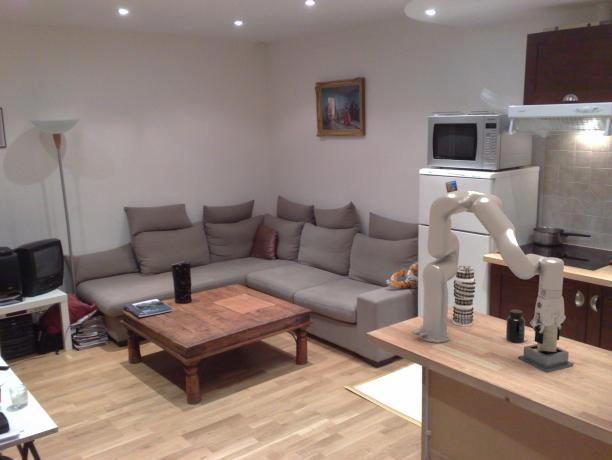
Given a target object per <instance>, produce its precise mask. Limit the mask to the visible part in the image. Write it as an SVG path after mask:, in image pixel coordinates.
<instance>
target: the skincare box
mask: <svg viewBox="0 0 612 460" xmlns="http://www.w3.org/2000/svg"><path fill="white" fill-rule="evenodd" d="M539 323H541V322H540V319H539ZM540 327H541V325H539V328H540ZM557 329H558V319H554V325H553V326H548V327H544V329H543V332H542V333H543V344H540V343H537V342H536V344H537V348H538V350H541V351H550V352H556V347H558V346H557V343H558V340H557Z"/></svg>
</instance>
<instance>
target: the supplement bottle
mask: <svg viewBox="0 0 612 460" xmlns="http://www.w3.org/2000/svg"><path fill="white" fill-rule="evenodd" d="M523 315H524V313H523V310H520V309H511V310H509V316H508V317H507V319H506V328H505V329H506V330H505V331H506V332H505V333H506V334H505V339H506V341H508V342H510V343H513V344H514V343H515V344H520V343H523V342H524V341H525V332H526V319H525V318H524V317H523Z"/></svg>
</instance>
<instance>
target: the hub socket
mask: <svg viewBox="0 0 612 460" xmlns="http://www.w3.org/2000/svg"><path fill="white" fill-rule="evenodd" d="M569 355H570V354H569V351H567V350H565V349H562V348H561V347H558V346H557V347H556V352H550V351H541V350H538V348H537V343H535V344H532V345H531V344H529V345H526V346H523V355H519V356H517V360H519V361H522V362H524V363H525V364H528V365H529V366H532V367H533V368H536V369H538V370H540V371H542V372H543V373H546V374H547V373H550V372H555V371H559V370H563V369H566V368H567V369H568V368H571V367H573V366H574V363H573V362H572V361H569Z"/></svg>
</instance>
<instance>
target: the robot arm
mask: <svg viewBox="0 0 612 460" xmlns="http://www.w3.org/2000/svg"><path fill="white" fill-rule="evenodd" d="M503 206H504V204H503V202H502V200H501V199H500V197H498V196H497V195H494V194H491V193H487V192H486V193H484V192H480V191H479V192H478V191H472V190H467V189H461V190H460V189H459V190H455V191H451V192H450V191H449V192H447V193H443V194H442V195H440V196H438V197H436V198H435V199H434V200H433V201H432V203H431V205H430V208H429V215H428V217H429V219H428V220H429V222H428V232H427V233H428V235H427V244H426V245H427V246H426V247H427V252H428V254H429V256H431V257H432V258H435V259H434V260H433V261H430V262H429V263H428V264H426V265H425V266H424V268H423V269H422V270H423V271H422V284H423V306H422V307H423V309H422V311H423V312H422V325H421V326H420V328H419V329H417V330H413V331H412V335H413V336H418V338H419V339H420V340H422V341H424V342H428V343H434V344H435V343H436V344H439V343H446V342H447V343H448V342H449V341H450V340H451V334H450V333H449V332H448V316H449V315H448V313H449V312H448V311H449V289H448V281H450V280H453V278H455V276H456V273H457V270H458V267H459V259H460V258H459V257H460V240H459V238H458V236H457V235H456V234H455V233H454V232H452V218H451V217H452V216H453V215H457V214H461V213H464V212H466V213H469V214H470V213H472V214H474V216H475V218H476V219H477V220H478V222H480V224H481V225H482V226H483V228H485V230H486V231H487V233H488V234H489V235H490V237H491V239H493V241H494V243H495V246H496V248H497V250H498V253H499V255H500V257H501V259H502V260H503V262H504V263H505V265H506V266H507V267H508V268H509V270H510V271H511V272H512V273H513V275H514V276H516V277H517V278H519V279H521V280H529V279H532V278H533V277H535V276H536V275H537V276H539V282H538V292H537V295H538V296H537V298H536V301H535V308H534V317H533V318H532V319H531V321H529V324H530V326H531V328H532V329H533V331H534V342H535V343H536V344H537V343H540V344H543V333H542V332H543V329H544V327H548V326H553V325H554V319H558V329H557V341H560V335H561V334H560V332H561V329H562V326H563V324H564V323H565V320H566V319H567V316H566V315H565V301H564V300H565V299H564V297H563V286H564V285H563V284H564V272H565V271H564V269H565V261H564V260H563V259H561V258H558V257H550V256H549V257H547V256H543V255H538V254H535V253H527V254H525V253H524V251H523V249H521V247H520V244H519V243H518V241H517V237H516V227H515V225H514V224H513V223H512V222H511V220H510V219H509V218H508V217H507V215H506V214H505V213H504V211H503ZM539 319H540V322H541V323H539ZM539 325H541V327H540V328H539Z"/></svg>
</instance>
